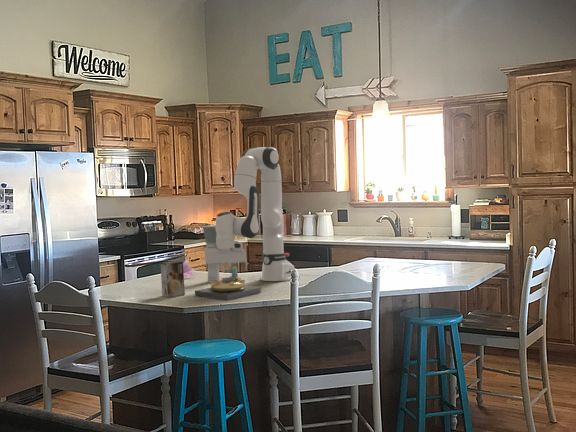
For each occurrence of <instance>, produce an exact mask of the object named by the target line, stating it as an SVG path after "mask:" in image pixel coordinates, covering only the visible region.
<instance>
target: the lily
mask: <svg viewBox="0 0 576 432" xmlns="http://www.w3.org/2000/svg"><path fill="white" fill-rule="evenodd" d="M194 270H195V268H194V267H192V266H191V267H190V264H189V261H188V259H186V260H184V261H183V273H184V280H186V279H187V277H189V278H192V279H195V275H194V273H193V271H194Z"/></svg>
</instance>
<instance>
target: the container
mask: <svg viewBox="0 0 576 432" xmlns="http://www.w3.org/2000/svg"><path fill="white" fill-rule="evenodd" d="M202 230H203V234H204V238H205V245H206V247H207V246H212V245H216V236H217V233H216V227H215V225H204V226H202ZM219 265H220V264H207V280H206V281H207V283H210V281H211V280H216V281H219V280H221V278H220V267H219ZM210 284H211V283H210Z"/></svg>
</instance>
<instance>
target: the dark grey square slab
mask: <svg viewBox="0 0 576 432" xmlns="http://www.w3.org/2000/svg"><path fill="white" fill-rule="evenodd" d="M261 291H262V290H261V287H258V286H250V285H249V286H248V285H245V288H244V289H242V290H237V291H212V290H211V287H207V288H203V289H202V288H201V289H198V290H197V289H196V290H194V296H195V297H201V298H207V299H213V300H214V299H216V300H224V301H230V300H231V301H232V300H235V299H240V298H245V297H249V296H253V295H257V294H261Z"/></svg>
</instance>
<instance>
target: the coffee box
mask: <svg viewBox="0 0 576 432" xmlns="http://www.w3.org/2000/svg"><path fill="white" fill-rule="evenodd" d="M183 263H184V261H179V260H174V261H167V262H166V261H165V262H160V277H161V279H160V280H161V294H162V297H165V298H170V297H171V298H172V297H177V296H185V294H186V293H185V291H186V290H185V279H184V273H183Z"/></svg>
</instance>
